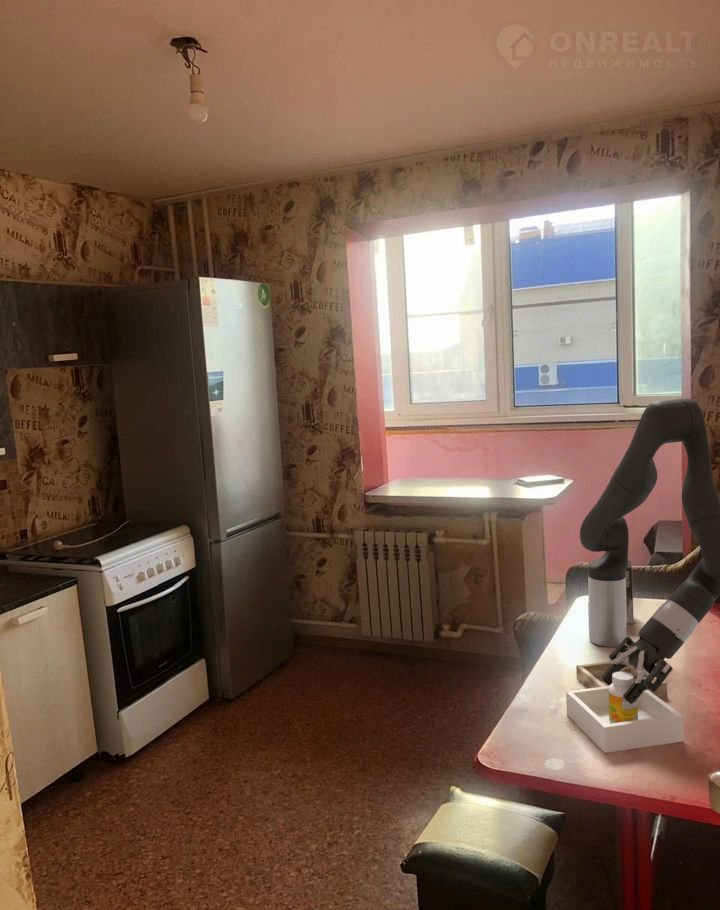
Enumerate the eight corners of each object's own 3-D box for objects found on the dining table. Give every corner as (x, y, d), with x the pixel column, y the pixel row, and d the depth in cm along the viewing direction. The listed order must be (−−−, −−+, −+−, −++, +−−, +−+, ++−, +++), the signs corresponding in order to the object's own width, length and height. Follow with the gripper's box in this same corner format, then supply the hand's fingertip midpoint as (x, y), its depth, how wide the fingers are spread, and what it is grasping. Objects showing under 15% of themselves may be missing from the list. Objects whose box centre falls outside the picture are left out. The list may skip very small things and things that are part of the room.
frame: (576, 678, 170) (576, 665, 169) (632, 670, 172) (632, 658, 171) (606, 704, 156) (606, 690, 155) (667, 696, 158) (667, 682, 158)
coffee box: (633, 616, 208) (632, 561, 206) (633, 624, 202) (632, 567, 200) (599, 614, 211) (598, 560, 209) (598, 622, 205) (597, 565, 203)
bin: (566, 714, 152) (566, 691, 152) (637, 704, 155) (637, 682, 154) (604, 752, 137) (604, 727, 136) (683, 741, 139) (683, 716, 139)
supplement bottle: (604, 717, 148) (603, 671, 147) (630, 714, 148) (629, 668, 147) (616, 730, 143) (615, 682, 142) (642, 727, 143) (642, 679, 142)
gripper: (636, 606, 151) (585, 666, 151) (677, 629, 137) (621, 695, 137) (660, 628, 153) (610, 687, 152) (703, 653, 139) (647, 718, 138)
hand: (615, 691), depth 145 cm, fingers open, 8 cm apart
